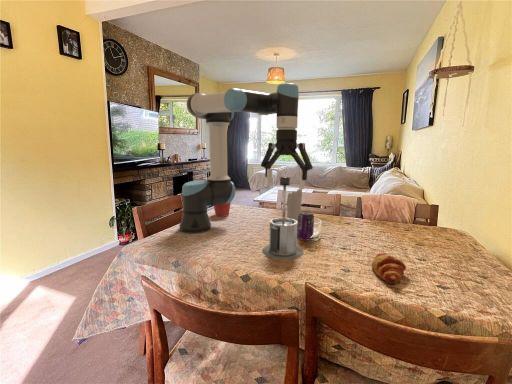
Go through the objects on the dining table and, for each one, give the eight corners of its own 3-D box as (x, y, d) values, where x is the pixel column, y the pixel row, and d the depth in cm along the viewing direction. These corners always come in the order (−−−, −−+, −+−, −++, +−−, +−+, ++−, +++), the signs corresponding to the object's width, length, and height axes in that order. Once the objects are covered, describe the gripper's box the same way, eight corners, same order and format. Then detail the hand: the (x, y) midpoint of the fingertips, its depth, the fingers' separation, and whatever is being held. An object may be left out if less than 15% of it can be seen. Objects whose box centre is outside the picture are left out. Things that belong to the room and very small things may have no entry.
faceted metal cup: (260, 253, 106) (261, 223, 104) (277, 244, 117) (278, 216, 115) (286, 260, 100) (287, 228, 98) (301, 250, 111) (302, 220, 109)
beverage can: (312, 241, 123) (314, 215, 120) (296, 240, 124) (297, 214, 122) (312, 236, 129) (314, 211, 127) (297, 235, 131) (298, 210, 129)
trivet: (254, 254, 107) (254, 252, 107) (275, 242, 120) (275, 241, 120) (291, 265, 99) (291, 263, 98) (309, 251, 112) (310, 249, 111)
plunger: (269, 226, 107) (270, 177, 103) (279, 222, 113) (280, 175, 110) (287, 230, 102) (289, 179, 99) (297, 225, 109) (299, 177, 105)
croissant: (373, 268, 105) (364, 249, 105) (400, 259, 102) (391, 239, 102) (382, 296, 85) (371, 272, 85) (417, 286, 82) (405, 261, 82)
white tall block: (280, 220, 156) (281, 184, 152) (302, 224, 148) (304, 187, 144) (273, 223, 150) (274, 186, 147) (296, 227, 142) (298, 189, 139)
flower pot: (210, 216, 161) (210, 200, 159) (216, 212, 171) (216, 196, 170) (228, 217, 159) (228, 201, 157) (233, 213, 170) (233, 197, 168)
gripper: (252, 129, 105) (251, 185, 109) (315, 128, 91) (312, 192, 95) (263, 130, 111) (262, 183, 115) (323, 129, 97) (320, 189, 101)
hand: (285, 187), depth 105 cm, fingers open, 13 cm apart
